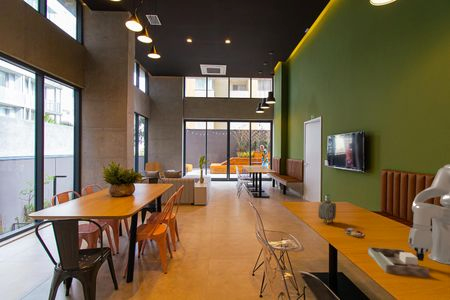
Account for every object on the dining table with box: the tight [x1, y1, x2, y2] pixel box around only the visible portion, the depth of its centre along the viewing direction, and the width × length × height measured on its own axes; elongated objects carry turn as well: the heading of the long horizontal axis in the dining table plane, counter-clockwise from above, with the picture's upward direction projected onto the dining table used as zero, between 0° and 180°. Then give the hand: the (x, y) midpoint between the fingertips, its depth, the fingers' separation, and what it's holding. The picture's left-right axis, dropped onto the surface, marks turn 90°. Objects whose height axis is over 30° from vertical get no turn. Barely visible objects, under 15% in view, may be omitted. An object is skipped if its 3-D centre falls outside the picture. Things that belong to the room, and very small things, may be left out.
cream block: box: [399, 251, 419, 265], centre depth 138 cm, size 6×6×4 cm
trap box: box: [367, 246, 430, 278], centre depth 139 cm, size 20×24×4 cm
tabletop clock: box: [317, 194, 337, 226], centre depth 212 cm, size 14×9×25 cm, turn 131°
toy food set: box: [343, 227, 365, 238], centre depth 186 cm, size 13×13×3 cm
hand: (419, 259), depth 137 cm, fingers closed
